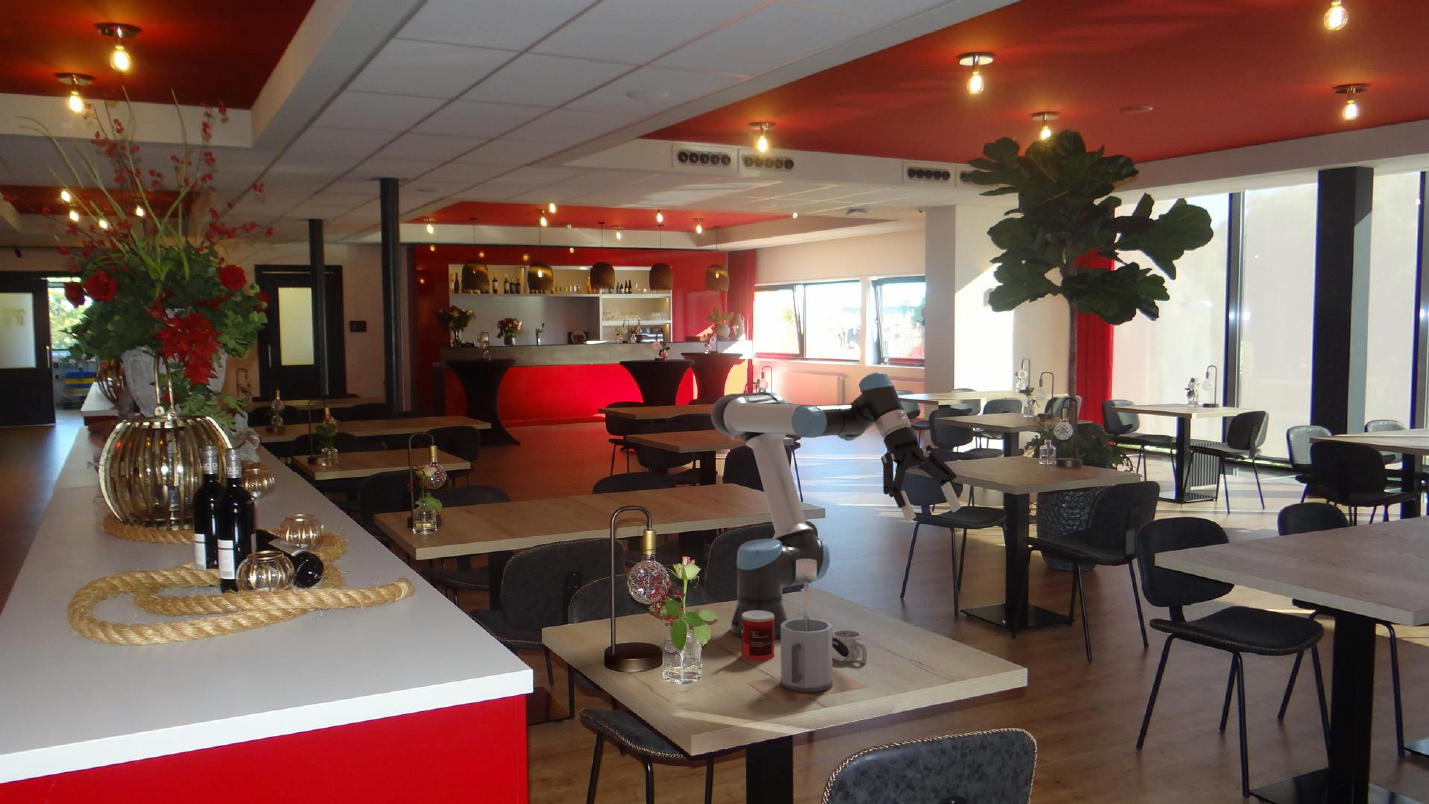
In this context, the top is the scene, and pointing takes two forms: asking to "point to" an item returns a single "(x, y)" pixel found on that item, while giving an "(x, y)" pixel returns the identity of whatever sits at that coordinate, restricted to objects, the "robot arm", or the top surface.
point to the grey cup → (806, 656)
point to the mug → (848, 646)
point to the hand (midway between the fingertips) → (934, 514)
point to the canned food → (758, 635)
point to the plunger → (806, 583)
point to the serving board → (781, 695)
